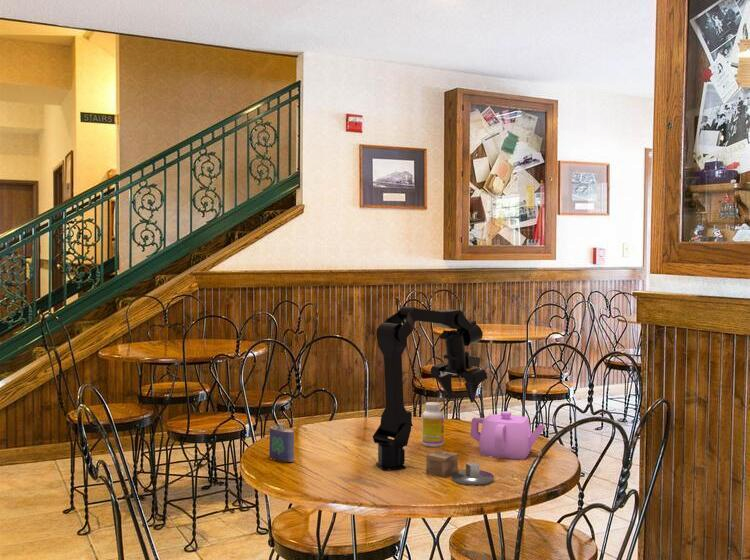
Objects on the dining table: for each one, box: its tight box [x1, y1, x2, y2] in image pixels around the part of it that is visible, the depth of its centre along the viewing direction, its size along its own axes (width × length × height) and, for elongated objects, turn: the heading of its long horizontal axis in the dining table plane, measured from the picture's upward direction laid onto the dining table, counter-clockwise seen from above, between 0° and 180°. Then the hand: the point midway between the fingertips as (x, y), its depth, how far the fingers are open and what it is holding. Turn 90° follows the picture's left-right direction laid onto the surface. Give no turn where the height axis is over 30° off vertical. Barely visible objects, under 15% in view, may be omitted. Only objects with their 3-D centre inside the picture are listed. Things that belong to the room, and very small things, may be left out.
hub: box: [450, 462, 495, 487], centre depth 190 cm, size 11×11×4 cm
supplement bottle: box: [421, 401, 445, 448], centre depth 226 cm, size 7×7×13 cm
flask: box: [268, 422, 295, 463], centre depth 208 cm, size 9×3×11 cm, turn 50°
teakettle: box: [469, 410, 546, 460], centre depth 216 cm, size 17×17×12 cm
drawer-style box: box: [426, 449, 459, 478], centre depth 196 cm, size 6×6×5 cm
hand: (461, 399), depth 222 cm, fingers open, 9 cm apart
